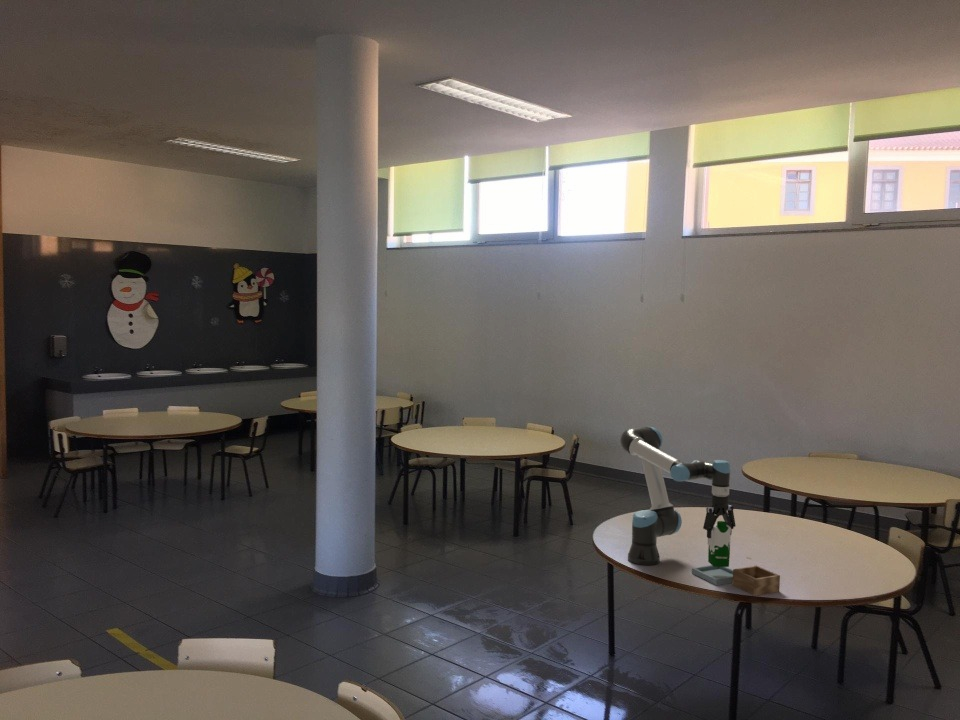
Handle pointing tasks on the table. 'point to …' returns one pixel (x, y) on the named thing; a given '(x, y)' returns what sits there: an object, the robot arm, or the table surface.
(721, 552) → the soya milk
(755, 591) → the holder
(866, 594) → the table surface
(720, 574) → the tray
